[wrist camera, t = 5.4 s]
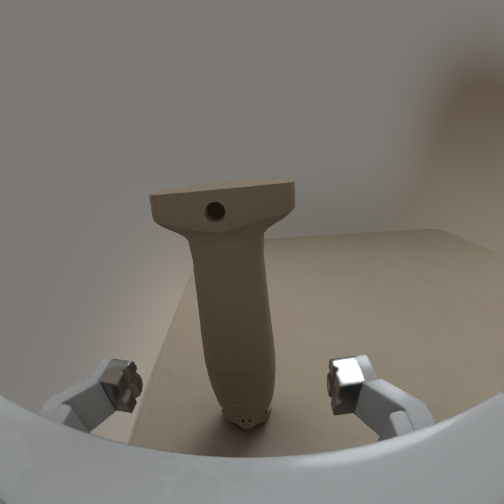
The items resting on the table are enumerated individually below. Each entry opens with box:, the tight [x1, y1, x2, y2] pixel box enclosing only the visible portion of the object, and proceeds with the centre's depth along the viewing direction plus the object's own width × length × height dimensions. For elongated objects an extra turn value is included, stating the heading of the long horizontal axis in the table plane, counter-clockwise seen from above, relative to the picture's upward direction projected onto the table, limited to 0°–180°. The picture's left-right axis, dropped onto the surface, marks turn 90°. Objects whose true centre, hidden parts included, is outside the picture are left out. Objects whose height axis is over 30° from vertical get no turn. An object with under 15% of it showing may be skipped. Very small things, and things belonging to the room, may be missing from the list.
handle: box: [150, 179, 295, 430], centre depth 14 cm, size 5×6×15 cm
